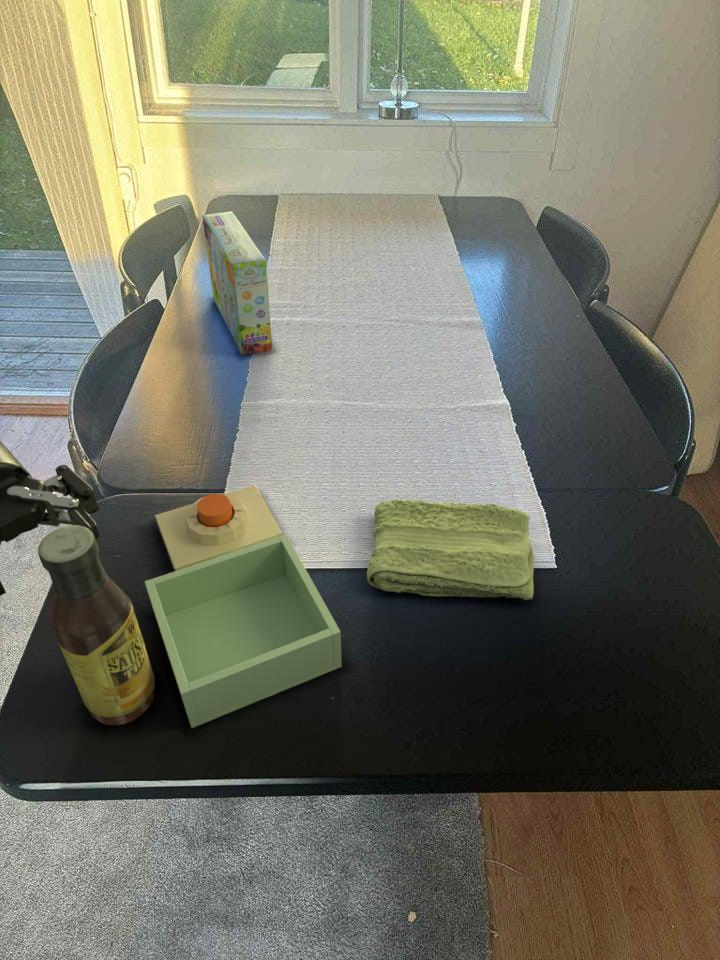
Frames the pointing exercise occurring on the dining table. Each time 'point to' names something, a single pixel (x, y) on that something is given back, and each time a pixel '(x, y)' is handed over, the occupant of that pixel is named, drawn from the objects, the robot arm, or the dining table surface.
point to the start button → (214, 510)
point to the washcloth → (451, 550)
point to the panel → (216, 529)
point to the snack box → (238, 282)
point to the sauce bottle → (96, 628)
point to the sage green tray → (243, 628)
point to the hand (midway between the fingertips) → (47, 562)
